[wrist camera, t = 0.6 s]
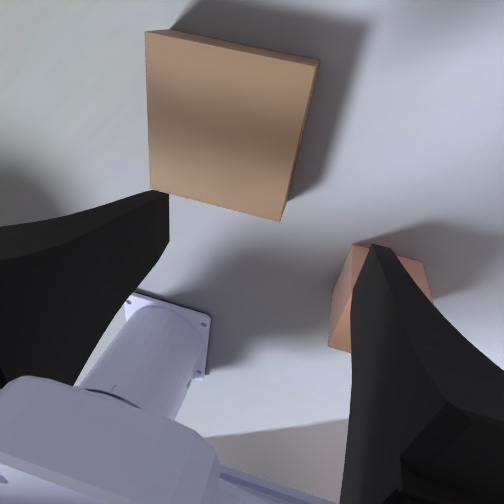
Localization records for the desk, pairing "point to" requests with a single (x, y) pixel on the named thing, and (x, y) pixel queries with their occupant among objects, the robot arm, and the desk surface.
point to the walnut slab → (225, 120)
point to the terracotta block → (344, 288)
